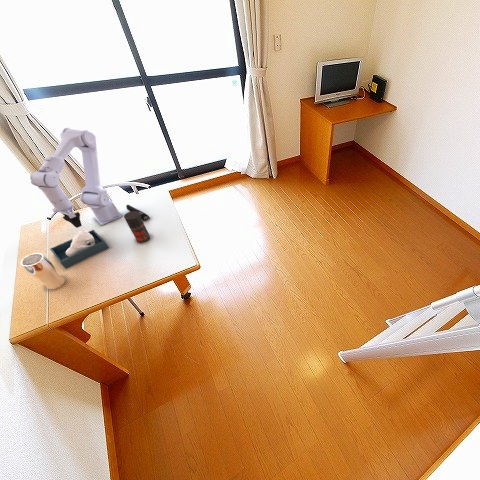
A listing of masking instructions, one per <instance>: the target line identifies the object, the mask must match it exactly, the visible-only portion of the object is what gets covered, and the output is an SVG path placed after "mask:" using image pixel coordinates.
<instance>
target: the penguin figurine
mask: <svg viewBox="0 0 480 480" xmlns="http://www.w3.org/2000/svg"><path fill="white" fill-rule="evenodd" d="M88 232H89V231H86V230H80V231H79V232H76V234H75V235H74V236H73V238H71V239H72V243H71V246H70V248H68V249H67V251H66V255H67V256H69V257H70V256H72V255H74V254H76V253H78V252H79V251H82V250H84V249H87V248H89V247H91V246H93V245H95V240H94V237H93V236H92V235H91V234H90V233H88ZM88 244H91V245H88Z"/></svg>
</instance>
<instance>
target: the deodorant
mask: <svg viewBox="0 0 480 480" xmlns="http://www.w3.org/2000/svg"><path fill="white" fill-rule="evenodd" d="M123 217H124V218H123V219H124V220H125V222H126V224H127V226H128V227H129V229H130V231H131V233H132V235H133V237H134V239H135V241H136V242H137V243H138V244H145V243H148V242H149V241H150V240H151V235H150V233H149V231H148V229H147V227H146V225H145V223H144V221H143V220H142V219H141V216H140V214H139V213H138V212H137V211H131V212H130V211H128V212H126V213H125V214H124V215H123Z"/></svg>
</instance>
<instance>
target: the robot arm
mask: <svg viewBox="0 0 480 480" xmlns="http://www.w3.org/2000/svg"><path fill="white" fill-rule="evenodd" d="M96 137H97V136H96V135H95V134H94V133H93V132H92V131H91V130H89V129H78V128H70V127H65V128H63V129H62V131H61V132H60V138H61V139H60V141H59V143H58V145H57V147H56V149H55V150H54V153H53V154H52V155H48V156H46V157H45V158H44V161H43V162H42V164H41V165H40V167H39V168H38V170H36V171H33V172H32V173H31V174H30V177H29V178H30V183H31V184H32V185H33V186H35V187H37V188H38V189H39V190H41V192H42V193H43V194H44V196H45V197H46V198H47V200H48V201H49V202H50V204H51V205H52V207H53V208H52V209H51V211H52V212H53V213H59V214H61V215H63V216H62V219H63V220H64V221H66V222H68V223H70V224H71V225H73V227H75V228H76V229H78V228H80V227H82V222H81V213H80V212H79V211H77V212H75V211H74V204H73V203H72V202H71V200H70V199H69V197H68V196H67V194H66V193H65V191H64V190H63V188H62V187H61V186H60V174H61V173H62V171H63V169H64V168H65V167H66V162H65V159H66V158H67V157H68V156H69V154H70V153H71V152H72V151H73V149H74V148H77V149H78V150H79V151H81V155H82V164H83V173H84V182H85V183H84V184H85V186H84V187H82V188H81V189H80V191H81V193H80V202H81V203H82V204H83V205H86V206H87V207H88V208H90V210H91V211H92V213H93V215H94V216H95V217H94V219H95V220H96V222H98V223H99V224H100V226H103V225H106V224H108V223H110V222H113V221H115V220H117V219H119V218H121V217H122V215H121V214H120V212H119V210H118V208H117V206H116V205H115V203H114V202H113V201H112V200H111V199H110V197H109V195H108V192H107V189H105V188H104V187H102V186H101V178H100V168H99V161H98V150H97V149H98V147H97V139H96Z"/></svg>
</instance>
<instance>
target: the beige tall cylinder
mask: <svg viewBox="0 0 480 480" xmlns="http://www.w3.org/2000/svg"><path fill="white" fill-rule="evenodd" d="M20 265H21V267H23V268H24V269H25V271H26V272H27V273H29V275H31V276H32V277H34V278H35V279H37V280H39V281H40V282H42V283H43V285H44V286H45V287H46V289H48V290H56V289H59V288H61V287H62V286H63V285H64V284H65V281H66V279H65V278H64V277H63V276H61V275H60V274H59V273H58V272H57V270H56V267H55V266H54V264H53V263H52V262H51V260H50V259H48V258H47V256H45V255H44V254H43V253H41V252H34V253H31V254H29V255H26V256H24V258H22V259H21V261H20Z"/></svg>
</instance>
